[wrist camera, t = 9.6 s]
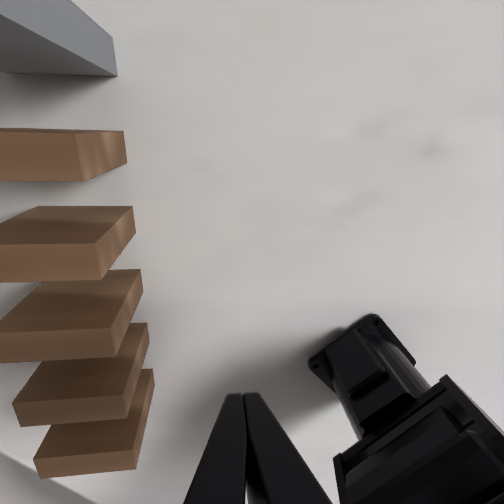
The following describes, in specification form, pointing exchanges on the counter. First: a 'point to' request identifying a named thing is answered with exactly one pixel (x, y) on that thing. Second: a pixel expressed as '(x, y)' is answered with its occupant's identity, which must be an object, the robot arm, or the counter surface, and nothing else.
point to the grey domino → (53, 39)
